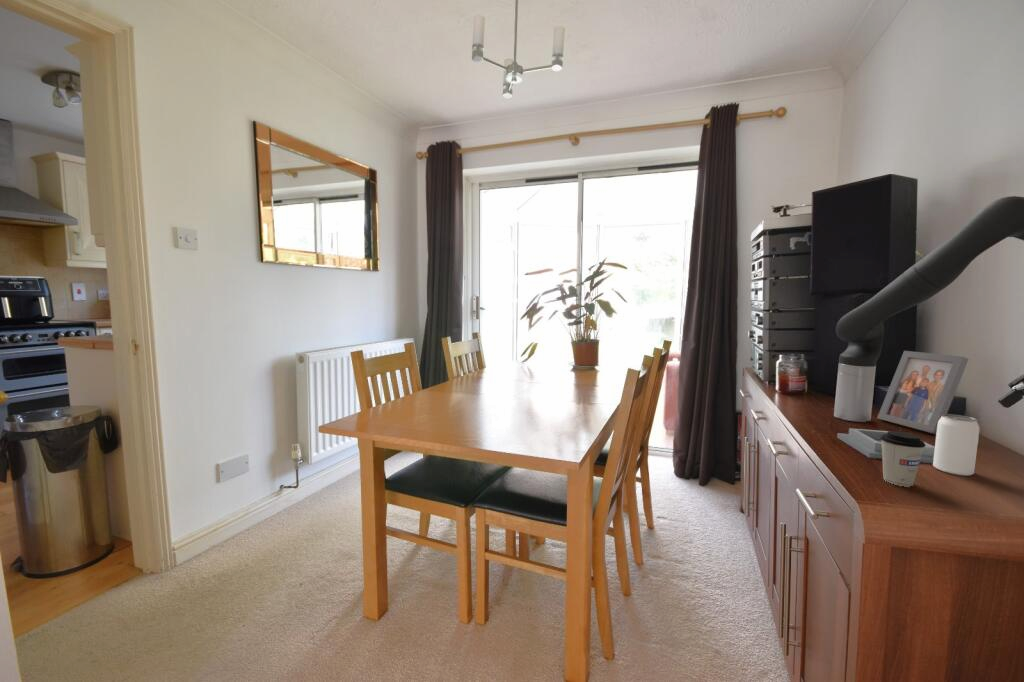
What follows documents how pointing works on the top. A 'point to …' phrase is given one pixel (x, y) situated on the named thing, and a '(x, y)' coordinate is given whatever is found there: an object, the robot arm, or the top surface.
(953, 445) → the can
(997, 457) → the top surface
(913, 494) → the top surface
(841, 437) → the can dock
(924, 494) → the top surface
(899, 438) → the coffee cup
